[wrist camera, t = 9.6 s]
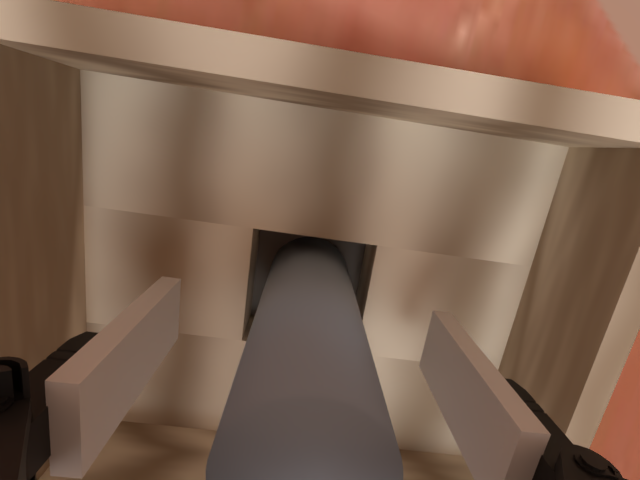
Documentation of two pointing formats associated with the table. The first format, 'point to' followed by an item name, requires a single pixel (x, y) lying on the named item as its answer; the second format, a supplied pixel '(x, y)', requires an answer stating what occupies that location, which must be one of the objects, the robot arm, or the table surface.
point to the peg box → (308, 216)
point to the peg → (306, 382)
